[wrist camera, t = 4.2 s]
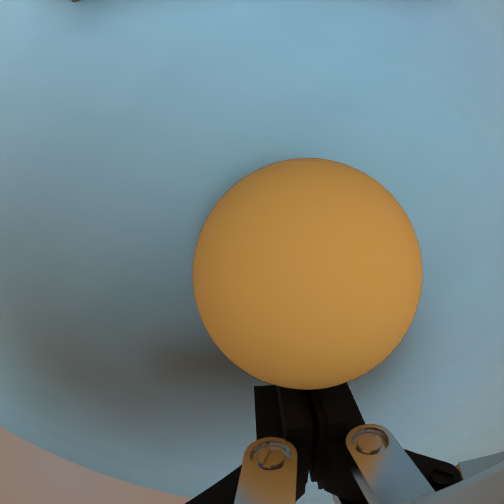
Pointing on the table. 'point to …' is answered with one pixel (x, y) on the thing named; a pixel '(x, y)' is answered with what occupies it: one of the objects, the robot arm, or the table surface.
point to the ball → (307, 273)
